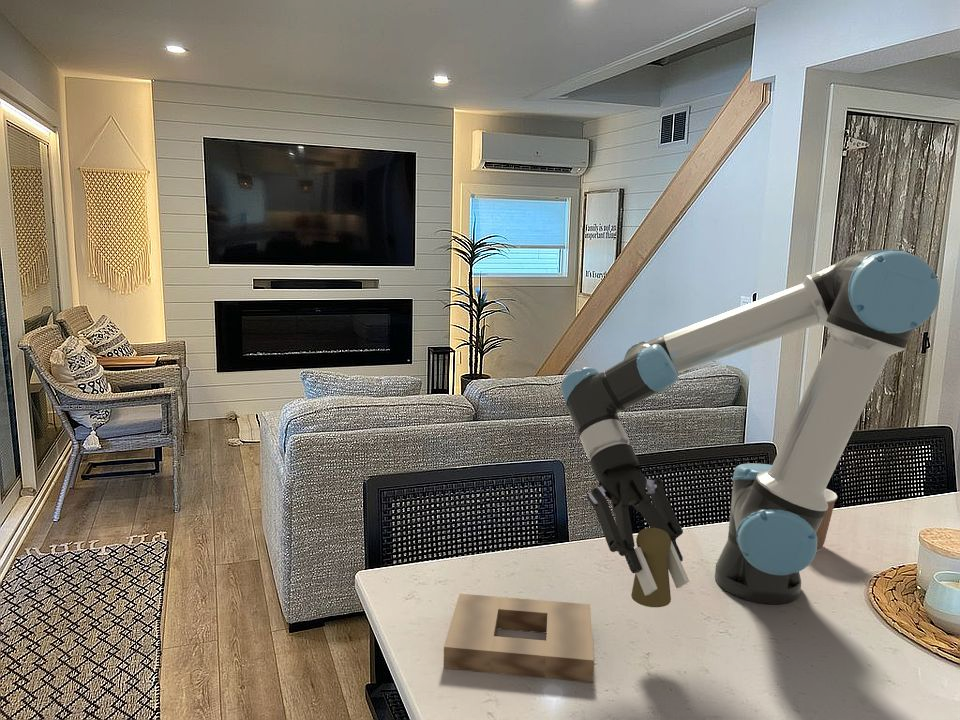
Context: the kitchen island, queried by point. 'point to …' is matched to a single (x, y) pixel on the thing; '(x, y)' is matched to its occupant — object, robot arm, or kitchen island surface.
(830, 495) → the coffee cup
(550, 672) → the wooden block with hole
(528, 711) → the kitchen island surface
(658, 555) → the cork
